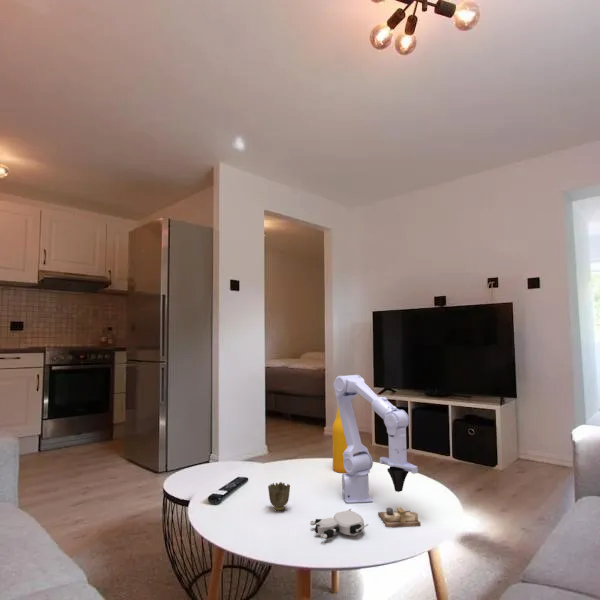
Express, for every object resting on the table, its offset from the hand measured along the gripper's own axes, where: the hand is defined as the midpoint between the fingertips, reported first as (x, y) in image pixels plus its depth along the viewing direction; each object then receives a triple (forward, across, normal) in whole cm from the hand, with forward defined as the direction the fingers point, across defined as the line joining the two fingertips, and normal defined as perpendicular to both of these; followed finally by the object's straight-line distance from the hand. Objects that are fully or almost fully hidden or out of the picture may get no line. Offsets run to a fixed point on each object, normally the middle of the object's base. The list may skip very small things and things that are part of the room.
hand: (398, 490), depth 139 cm
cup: (+8, -28, -28) cm, 41 cm away
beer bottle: (+8, -48, +19) cm, 52 cm away
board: (+8, +3, -3) cm, 9 cm away
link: (+6, +4, -4) cm, 9 cm away
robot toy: (+8, -2, -24) cm, 26 cm away
